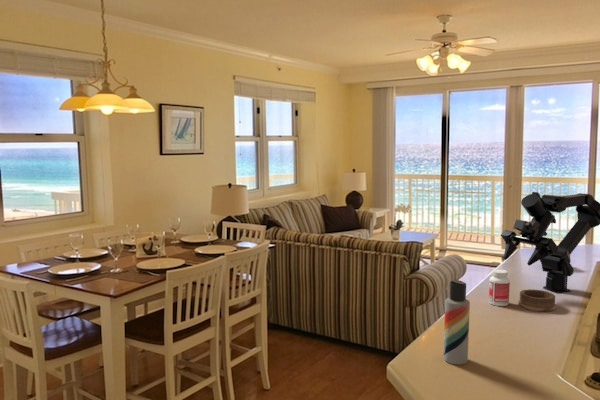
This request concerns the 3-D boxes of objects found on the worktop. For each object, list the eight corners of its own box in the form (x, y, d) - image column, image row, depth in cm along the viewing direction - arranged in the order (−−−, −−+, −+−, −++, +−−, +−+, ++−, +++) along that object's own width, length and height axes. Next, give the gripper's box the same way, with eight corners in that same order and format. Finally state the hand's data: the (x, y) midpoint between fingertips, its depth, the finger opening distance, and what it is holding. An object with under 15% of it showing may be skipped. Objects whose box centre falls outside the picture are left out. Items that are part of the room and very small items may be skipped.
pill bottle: (512, 304, 163) (514, 271, 162) (501, 308, 160) (502, 274, 159) (496, 299, 168) (497, 267, 167) (484, 302, 165) (485, 270, 164)
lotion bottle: (440, 355, 125) (442, 277, 122) (462, 354, 125) (464, 277, 123) (448, 365, 119) (451, 284, 117) (471, 364, 119) (474, 283, 117)
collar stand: (537, 299, 168) (538, 287, 168) (563, 309, 158) (564, 297, 157) (510, 302, 165) (511, 290, 165) (535, 313, 155) (536, 301, 154)
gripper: (504, 207, 175) (482, 242, 171) (553, 214, 159) (529, 253, 155) (519, 226, 180) (497, 261, 176) (568, 235, 163) (545, 273, 160)
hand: (516, 261), depth 167 cm, fingers open, 9 cm apart
